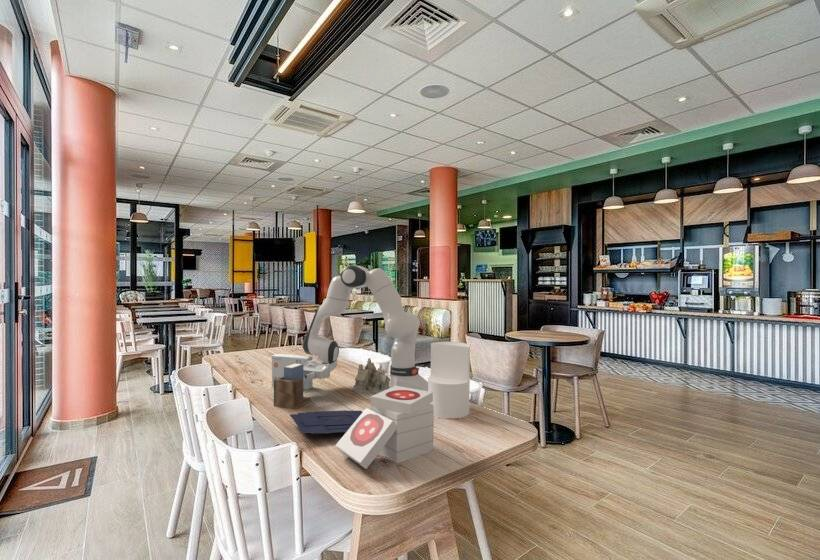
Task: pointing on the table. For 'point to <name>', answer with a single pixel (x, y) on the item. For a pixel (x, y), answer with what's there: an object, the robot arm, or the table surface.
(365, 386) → the grey rock
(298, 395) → the shelf
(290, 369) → the tall blue pillar
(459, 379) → the cylinder
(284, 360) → the skincare box
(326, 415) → the navy flat slab
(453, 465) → the table surface
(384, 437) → the pizza boxes
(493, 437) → the table surface
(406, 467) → the table surface
